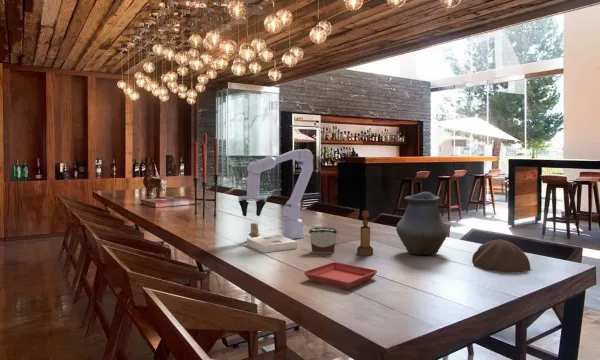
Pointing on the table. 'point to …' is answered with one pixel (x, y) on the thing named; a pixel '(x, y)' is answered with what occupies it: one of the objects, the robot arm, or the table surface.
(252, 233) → the oak peg
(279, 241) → the hole board
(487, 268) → the decorative dome
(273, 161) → the robot arm
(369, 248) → the brown wooden tall figure
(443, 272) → the table surface
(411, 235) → the grey ceramic jar
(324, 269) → the plant saucer
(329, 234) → the food container
